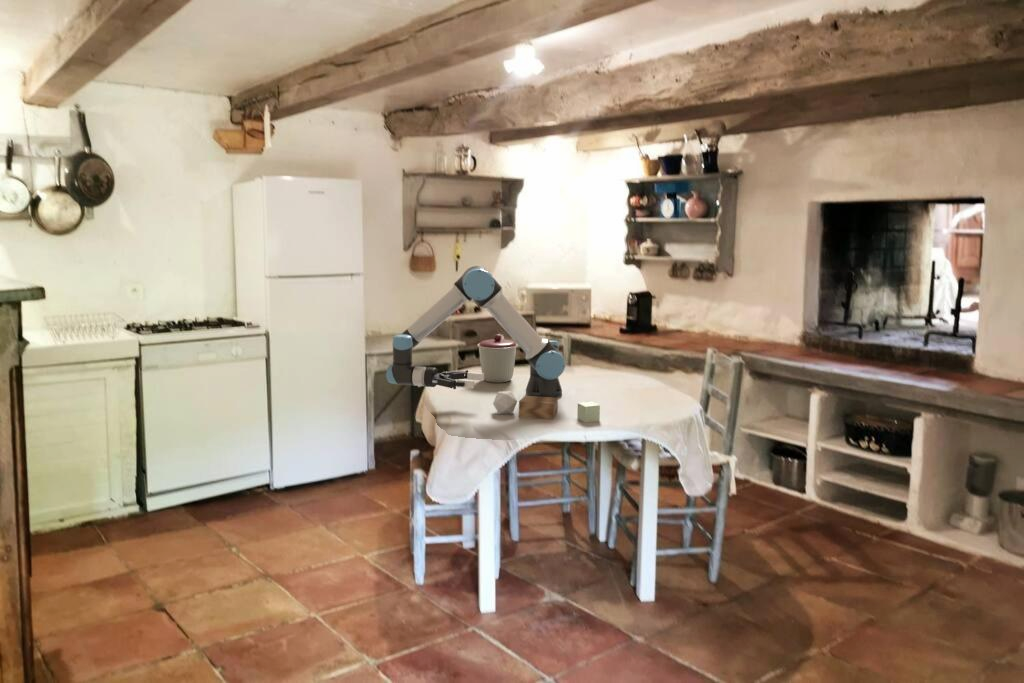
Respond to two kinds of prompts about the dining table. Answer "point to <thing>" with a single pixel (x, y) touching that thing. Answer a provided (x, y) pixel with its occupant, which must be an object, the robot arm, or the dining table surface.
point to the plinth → (538, 407)
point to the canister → (497, 359)
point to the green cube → (588, 411)
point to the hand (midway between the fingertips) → (478, 380)
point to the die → (505, 402)
